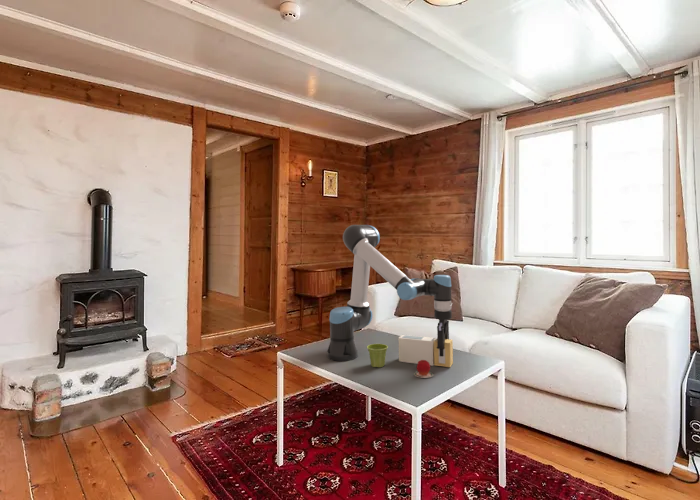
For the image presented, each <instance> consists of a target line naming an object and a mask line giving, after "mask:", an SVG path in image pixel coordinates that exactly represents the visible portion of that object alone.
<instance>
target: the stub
mask: <svg viewBox="0 0 700 500" xmlns="http://www.w3.org/2000/svg"><path fill="white" fill-rule="evenodd" d="M453 346H454V345H453V339H450V338H449V339H445V346H444V347H445V348H444V349H445V364H443V363H439V349H437V338H436V340H435V341H434V365H433V366H436V367H437V366H439V367H446V368H451V367H452V365H453V364H454V360H453V359H454V355H453V354H454V349H453Z"/></svg>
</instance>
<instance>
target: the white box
mask: <svg viewBox="0 0 700 500" xmlns="http://www.w3.org/2000/svg"><path fill="white" fill-rule="evenodd" d="M436 339H437V338H436V337H432V336H431V337H430V336H420V335H409V334H408V335H407V334H406V335H405V334H402V335H400V336H398V362H401V363H402V362H403V363H410V364H417V365H418V362H419V361H421V360H426V361H427V362H429V364H430V367H431V366H432V367H433V366H435V365H434V341H435V340H436Z"/></svg>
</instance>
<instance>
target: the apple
mask: <svg viewBox="0 0 700 500" xmlns="http://www.w3.org/2000/svg"><path fill="white" fill-rule="evenodd" d="M413 375H414V376H415V377H417V378H422V379H423V378H424V379H428V378H432V377H433V376H434V373H433V372H431V365H430V364H429V362H427V361H426V360H421V361H419V362H418V364H417V365H416V371H415V372H413Z"/></svg>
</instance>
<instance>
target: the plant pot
mask: <svg viewBox="0 0 700 500" xmlns="http://www.w3.org/2000/svg"><path fill="white" fill-rule="evenodd" d="M366 348H367V351H368V352H369V354H368V355H369V360H370V366H371V367H373V368H383V367H384V366H385V365H386V355H387V350H388V348H389V346H388V345H387V344H383V343H373V344H372V343H371V344H368V345H367V346H366Z"/></svg>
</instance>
